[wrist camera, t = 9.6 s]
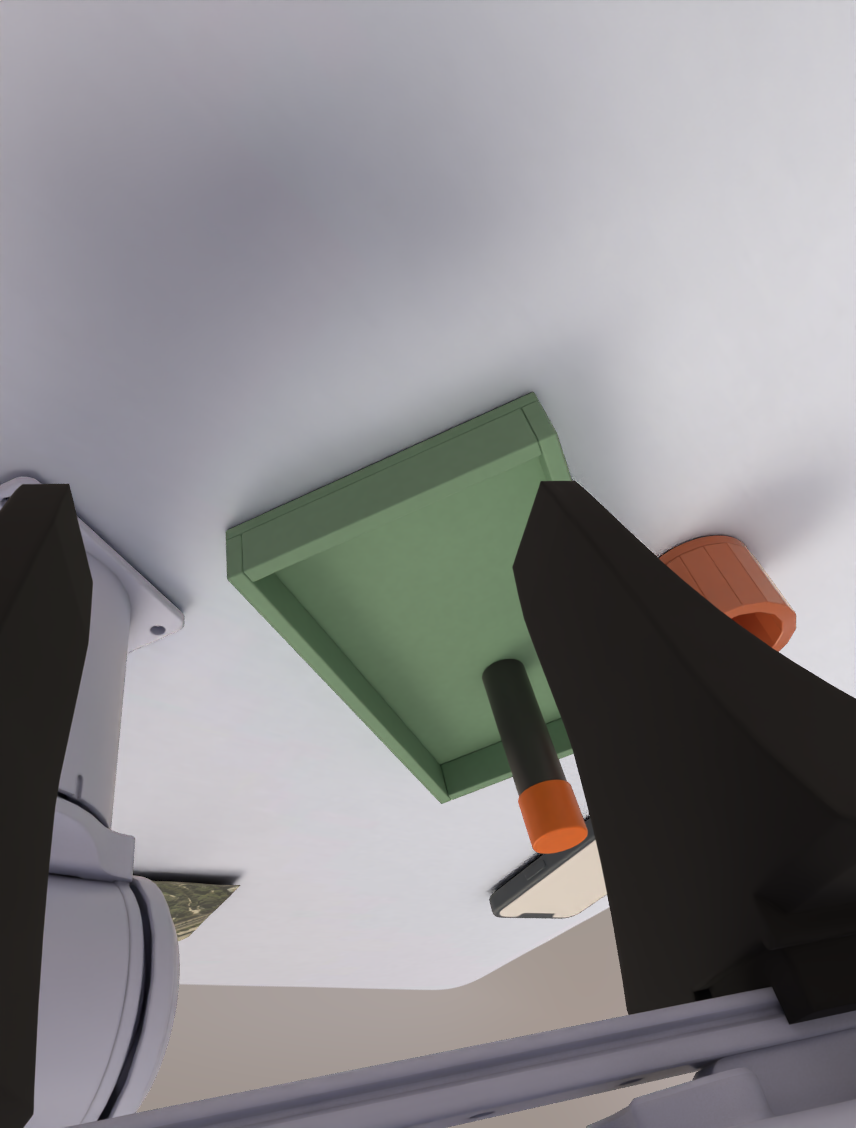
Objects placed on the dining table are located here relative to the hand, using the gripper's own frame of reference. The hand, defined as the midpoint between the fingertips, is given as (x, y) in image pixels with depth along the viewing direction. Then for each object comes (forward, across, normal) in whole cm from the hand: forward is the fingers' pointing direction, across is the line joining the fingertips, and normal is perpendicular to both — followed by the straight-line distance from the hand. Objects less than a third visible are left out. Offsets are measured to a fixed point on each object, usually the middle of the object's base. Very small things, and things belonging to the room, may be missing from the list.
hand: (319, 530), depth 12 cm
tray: (+10, -8, +15) cm, 20 cm away
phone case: (+10, -22, +41) cm, 48 cm away
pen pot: (+10, -18, +13) cm, 24 cm away
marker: (+10, -10, +18) cm, 23 cm away
